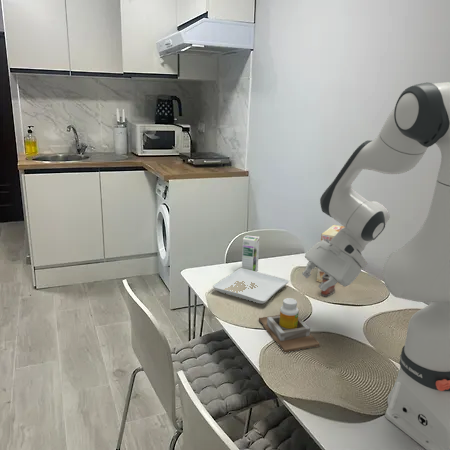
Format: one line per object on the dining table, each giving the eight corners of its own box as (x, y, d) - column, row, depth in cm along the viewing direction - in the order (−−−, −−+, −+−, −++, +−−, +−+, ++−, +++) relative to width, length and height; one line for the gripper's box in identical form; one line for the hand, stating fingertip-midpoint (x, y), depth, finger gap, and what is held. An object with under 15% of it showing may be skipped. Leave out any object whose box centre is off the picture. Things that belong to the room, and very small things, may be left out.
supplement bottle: (296, 336, 122) (299, 306, 119) (278, 333, 123) (280, 304, 120) (297, 326, 127) (299, 297, 124) (279, 324, 128) (281, 295, 125)
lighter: (328, 288, 156) (331, 263, 153) (336, 290, 154) (339, 265, 151) (318, 295, 150) (320, 269, 147) (326, 298, 148) (329, 272, 145)
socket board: (319, 346, 119) (320, 335, 118) (284, 353, 115) (285, 342, 114) (289, 315, 135) (290, 306, 134) (258, 320, 132) (259, 310, 131)
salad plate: (239, 274, 166) (240, 266, 165) (289, 287, 156) (290, 279, 155) (210, 294, 149) (211, 285, 148) (264, 310, 139) (264, 301, 138)
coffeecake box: (333, 286, 157) (339, 237, 152) (315, 281, 161) (320, 233, 155) (345, 272, 170) (350, 227, 164) (328, 268, 173) (332, 224, 167)
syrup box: (241, 273, 167) (242, 238, 163) (244, 267, 172) (246, 234, 168) (254, 275, 165) (256, 240, 161) (258, 269, 171) (259, 236, 166)
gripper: (319, 231, 131) (289, 263, 131) (360, 253, 112) (325, 290, 112) (330, 243, 134) (301, 274, 133) (371, 267, 115) (337, 303, 115)
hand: (312, 282), depth 123 cm, fingers open, 8 cm apart
